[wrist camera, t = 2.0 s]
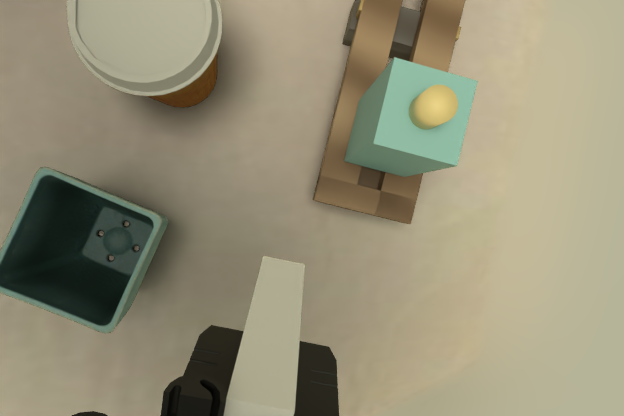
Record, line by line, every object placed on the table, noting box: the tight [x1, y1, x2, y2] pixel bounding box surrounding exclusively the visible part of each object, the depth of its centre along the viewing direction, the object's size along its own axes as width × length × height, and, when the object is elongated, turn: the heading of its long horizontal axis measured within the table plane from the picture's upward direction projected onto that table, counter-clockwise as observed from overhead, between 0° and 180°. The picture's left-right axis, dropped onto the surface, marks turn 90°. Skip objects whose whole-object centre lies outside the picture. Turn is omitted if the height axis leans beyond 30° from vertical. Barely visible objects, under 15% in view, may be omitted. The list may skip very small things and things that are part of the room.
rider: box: [344, 57, 477, 177], centre depth 30 cm, size 5×5×13 cm
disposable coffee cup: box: [66, 0, 222, 107], centre depth 33 cm, size 10×10×12 cm
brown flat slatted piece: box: [313, 0, 465, 224], centre depth 38 cm, size 32×9×5 cm, turn 166°
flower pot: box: [0, 167, 168, 333], centre depth 34 cm, size 9×9×9 cm
